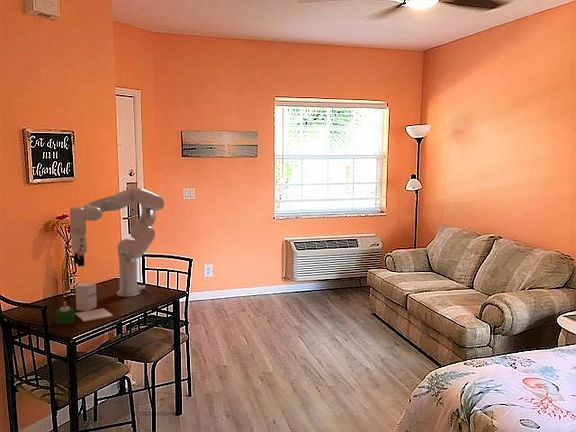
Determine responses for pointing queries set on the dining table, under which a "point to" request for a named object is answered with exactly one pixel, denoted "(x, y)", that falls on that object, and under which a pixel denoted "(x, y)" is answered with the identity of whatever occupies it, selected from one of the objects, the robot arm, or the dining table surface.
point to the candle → (65, 314)
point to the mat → (93, 314)
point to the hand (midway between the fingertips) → (79, 264)
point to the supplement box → (86, 297)
